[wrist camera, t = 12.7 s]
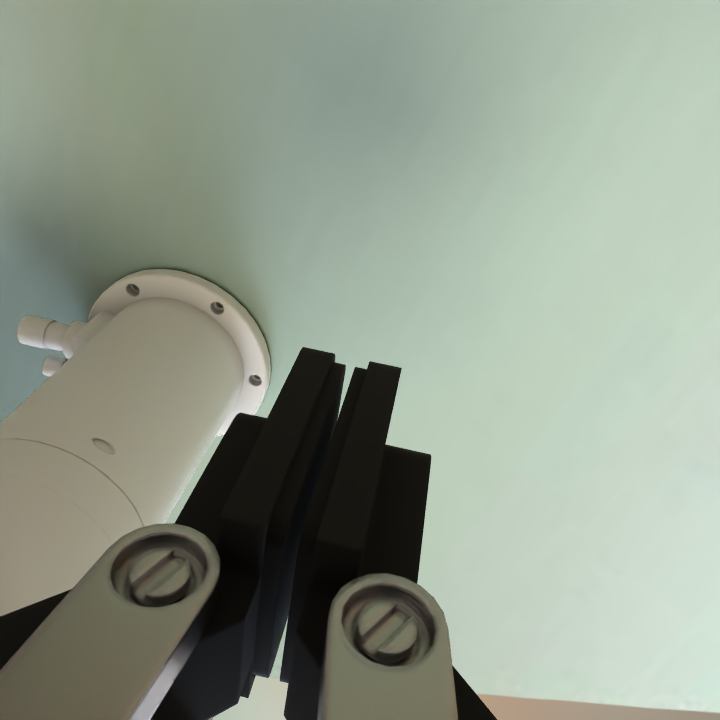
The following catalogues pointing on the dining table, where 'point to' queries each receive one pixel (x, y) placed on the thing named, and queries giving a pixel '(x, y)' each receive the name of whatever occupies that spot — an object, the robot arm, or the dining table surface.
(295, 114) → the dining table surface
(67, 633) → the robot arm
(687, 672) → the dining table surface
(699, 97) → the dining table surface
